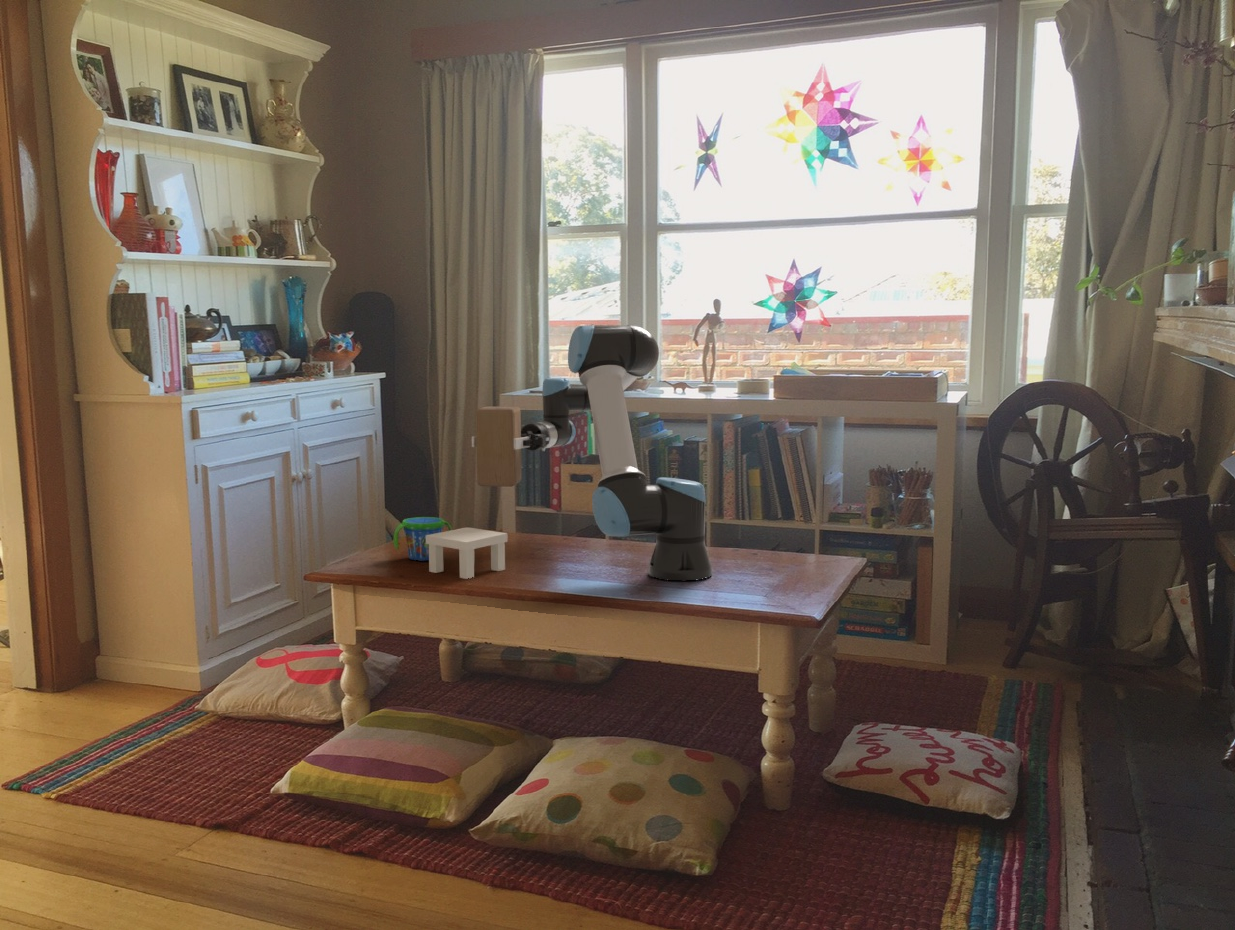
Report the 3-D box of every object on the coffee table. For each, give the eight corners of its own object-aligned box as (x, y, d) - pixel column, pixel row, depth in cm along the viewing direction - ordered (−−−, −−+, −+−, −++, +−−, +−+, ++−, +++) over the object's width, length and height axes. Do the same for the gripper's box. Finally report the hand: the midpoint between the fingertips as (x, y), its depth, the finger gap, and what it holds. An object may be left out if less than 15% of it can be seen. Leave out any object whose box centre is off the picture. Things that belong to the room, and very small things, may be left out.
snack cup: (447, 552, 273) (446, 514, 272) (459, 559, 264) (458, 520, 262) (388, 557, 266) (387, 519, 265) (399, 565, 257) (398, 525, 256)
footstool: (507, 569, 252) (507, 533, 251) (466, 579, 241) (466, 542, 240) (467, 561, 261) (467, 527, 260) (426, 571, 250) (425, 535, 249)
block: (522, 481, 271) (521, 406, 269) (514, 487, 261) (513, 408, 259) (485, 481, 272) (483, 406, 270) (476, 486, 262) (474, 408, 260)
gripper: (576, 451, 277) (534, 459, 258) (501, 447, 288) (455, 455, 269) (576, 424, 276) (533, 430, 257) (500, 421, 287) (454, 426, 268)
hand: (493, 442), depth 263 cm, fingers closed on block, 12 cm apart
